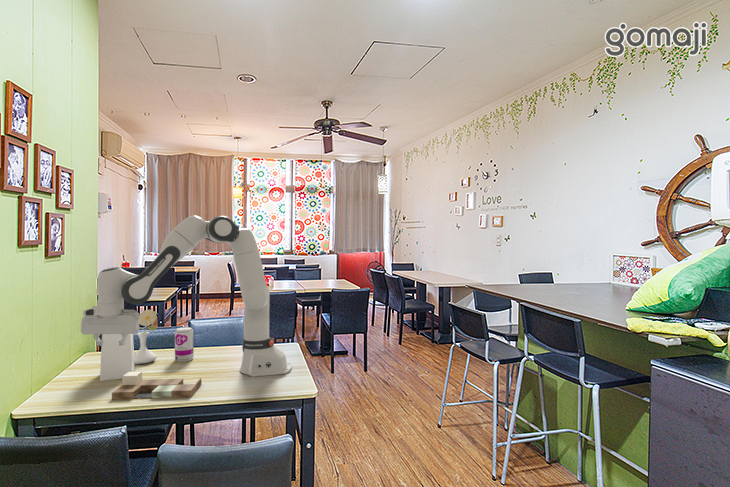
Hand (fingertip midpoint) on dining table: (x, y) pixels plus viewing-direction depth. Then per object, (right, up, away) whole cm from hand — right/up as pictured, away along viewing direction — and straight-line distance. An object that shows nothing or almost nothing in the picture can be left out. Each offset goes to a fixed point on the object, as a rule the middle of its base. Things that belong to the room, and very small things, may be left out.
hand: (110, 345), depth 162 cm
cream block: (+8, -15, +1) cm, 17 cm away
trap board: (+19, -18, -1) cm, 26 cm away
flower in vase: (-5, -17, +35) cm, 39 cm away
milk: (-8, -17, +18) cm, 26 cm away
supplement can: (+11, -17, +40) cm, 45 cm away
